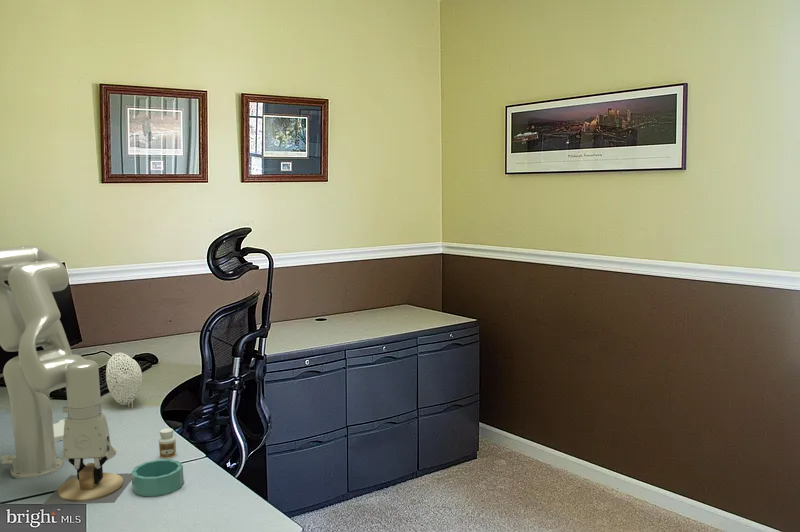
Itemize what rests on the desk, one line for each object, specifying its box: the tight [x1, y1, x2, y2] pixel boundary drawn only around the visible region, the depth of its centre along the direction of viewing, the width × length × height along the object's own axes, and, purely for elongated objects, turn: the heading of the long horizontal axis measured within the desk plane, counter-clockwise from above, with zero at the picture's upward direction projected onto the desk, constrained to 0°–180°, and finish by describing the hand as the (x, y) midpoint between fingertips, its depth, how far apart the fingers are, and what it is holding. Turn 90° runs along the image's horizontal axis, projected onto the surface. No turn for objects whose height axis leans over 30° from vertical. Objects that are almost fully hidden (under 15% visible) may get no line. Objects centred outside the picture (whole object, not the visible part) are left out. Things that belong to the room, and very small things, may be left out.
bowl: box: [130, 458, 185, 497], centre depth 187 cm, size 12×12×5 cm
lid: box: [57, 462, 123, 501], centre depth 187 cm, size 15×15×5 cm
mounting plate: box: [53, 418, 66, 442], centre depth 229 cm, size 18×13×2 cm
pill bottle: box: [158, 427, 177, 460], centre depth 207 cm, size 4×4×8 cm
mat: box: [41, 472, 132, 506], centre depth 187 cm, size 17×17×1 cm
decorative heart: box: [105, 352, 143, 409], centre depth 253 cm, size 18×11×17 cm, turn 35°
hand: (90, 481), depth 187 cm, fingers closed on lid, 3 cm apart
